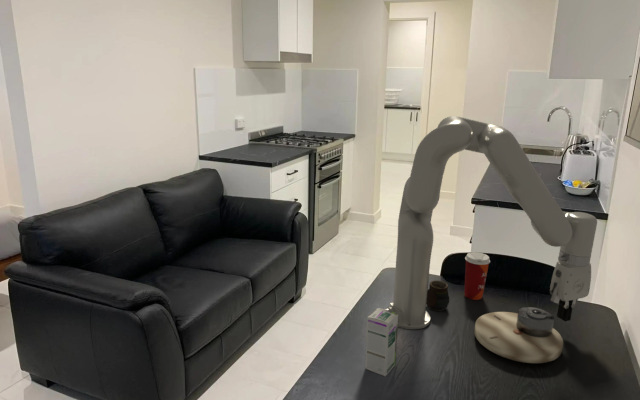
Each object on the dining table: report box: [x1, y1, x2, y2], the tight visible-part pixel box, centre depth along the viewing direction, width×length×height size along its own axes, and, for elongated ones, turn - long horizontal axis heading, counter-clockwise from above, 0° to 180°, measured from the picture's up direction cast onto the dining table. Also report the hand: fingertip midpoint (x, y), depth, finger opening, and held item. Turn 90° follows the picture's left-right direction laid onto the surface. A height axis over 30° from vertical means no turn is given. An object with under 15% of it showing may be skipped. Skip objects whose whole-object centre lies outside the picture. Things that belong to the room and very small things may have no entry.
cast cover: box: [516, 306, 555, 337], centre depth 130 cm, size 9×9×5 cm
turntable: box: [474, 311, 564, 364], centre depth 129 cm, size 22×22×2 cm
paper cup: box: [464, 251, 491, 301], centre depth 155 cm, size 8×8×14 cm
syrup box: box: [364, 307, 398, 377], centre depth 117 cm, size 6×6×14 cm
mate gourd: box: [426, 279, 450, 312], centre depth 147 cm, size 7×8×10 cm
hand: (563, 318), depth 134 cm, fingers closed
